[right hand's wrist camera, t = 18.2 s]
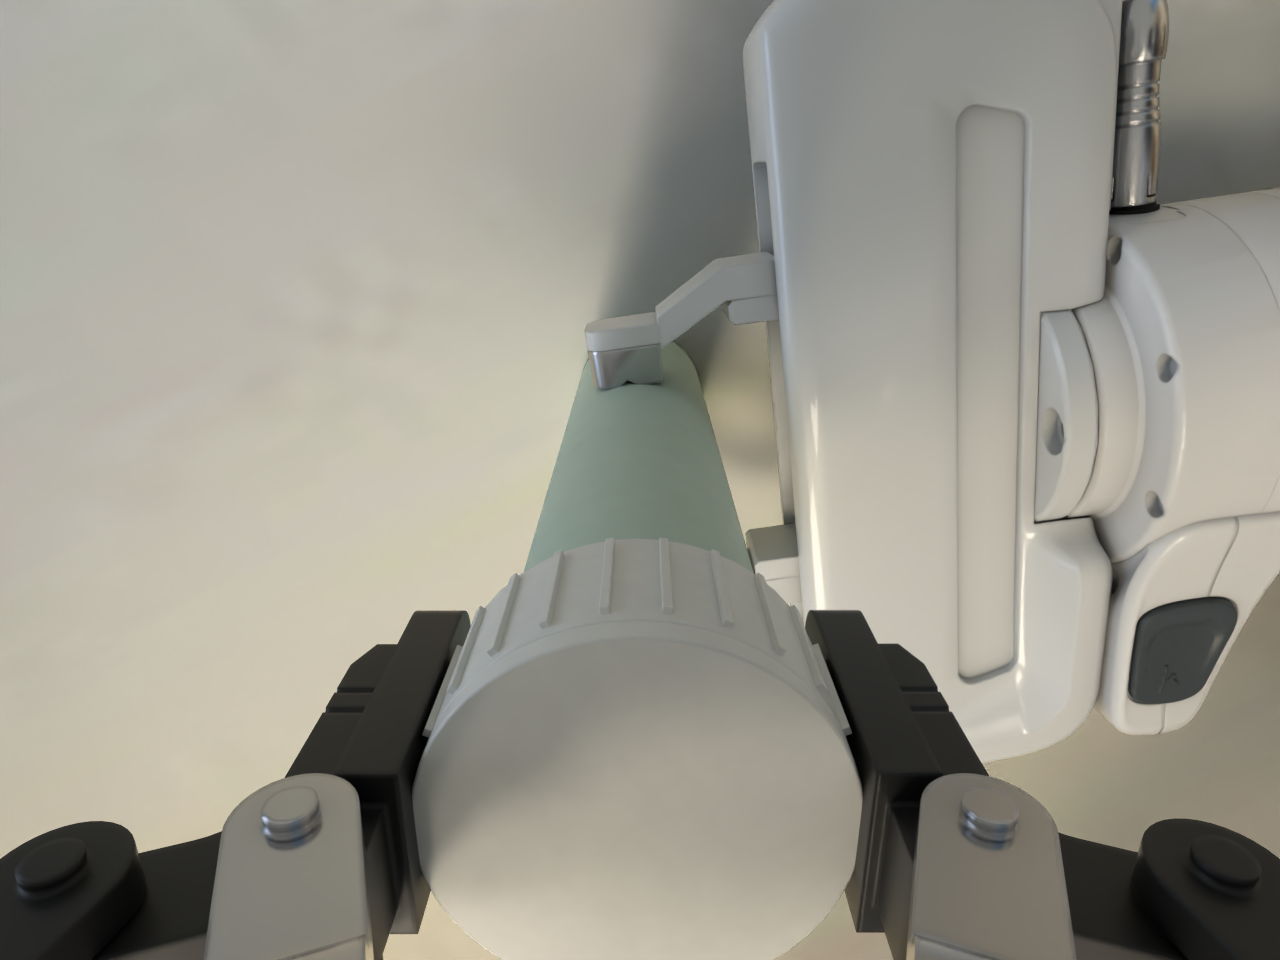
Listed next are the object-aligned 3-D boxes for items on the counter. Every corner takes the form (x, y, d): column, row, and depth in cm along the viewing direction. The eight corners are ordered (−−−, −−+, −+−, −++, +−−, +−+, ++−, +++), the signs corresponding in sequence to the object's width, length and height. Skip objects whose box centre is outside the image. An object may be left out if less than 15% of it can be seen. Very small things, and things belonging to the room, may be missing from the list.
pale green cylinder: (555, 389, 27) (396, 789, 10) (641, 305, 26) (641, 577, 9) (638, 471, 28) (633, 967, 11) (724, 393, 28) (879, 796, 10)
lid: (639, 901, 13) (639, 1062, 10) (374, 704, 11) (307, 835, 9) (902, 701, 11) (967, 833, 9) (635, 452, 10) (634, 533, 8)
